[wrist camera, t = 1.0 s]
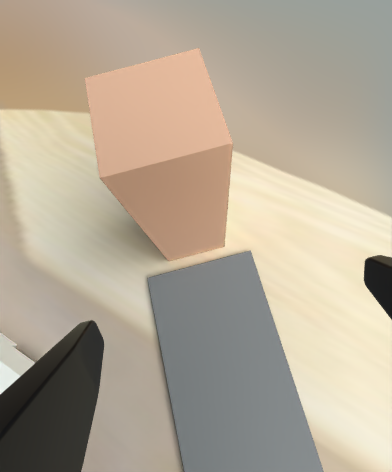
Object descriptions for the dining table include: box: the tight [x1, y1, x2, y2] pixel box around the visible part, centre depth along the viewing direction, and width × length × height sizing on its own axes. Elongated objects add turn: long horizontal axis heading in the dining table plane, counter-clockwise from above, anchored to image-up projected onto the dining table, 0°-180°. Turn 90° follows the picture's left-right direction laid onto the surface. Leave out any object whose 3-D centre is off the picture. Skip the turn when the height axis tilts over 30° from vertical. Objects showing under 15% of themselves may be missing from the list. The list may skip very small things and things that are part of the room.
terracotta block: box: [85, 48, 233, 261], centre depth 17 cm, size 5×5×14 cm
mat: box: [148, 251, 324, 472], centre depth 20 cm, size 16×9×1 cm, turn 14°
